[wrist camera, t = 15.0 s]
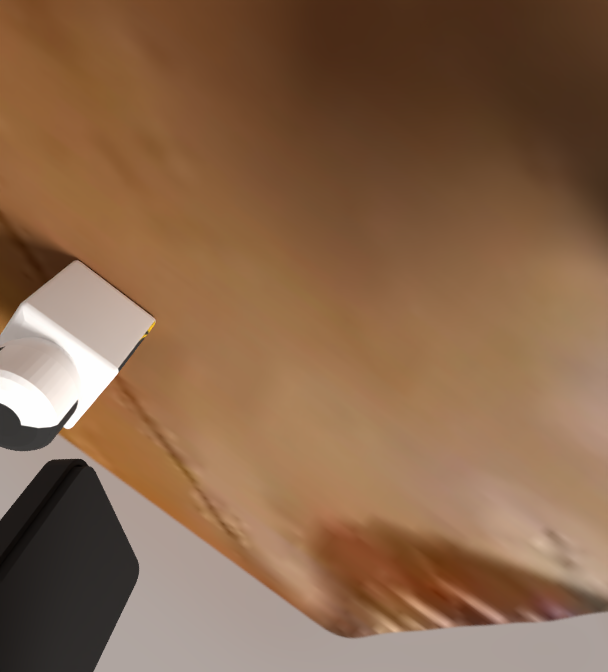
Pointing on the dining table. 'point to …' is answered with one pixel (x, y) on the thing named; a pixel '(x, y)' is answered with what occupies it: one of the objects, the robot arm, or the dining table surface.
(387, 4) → the dining table surface
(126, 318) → the medicine bottle
